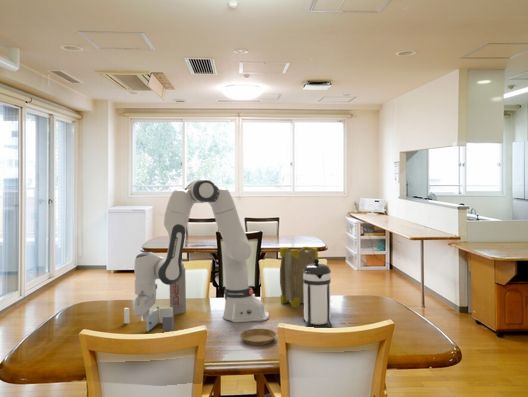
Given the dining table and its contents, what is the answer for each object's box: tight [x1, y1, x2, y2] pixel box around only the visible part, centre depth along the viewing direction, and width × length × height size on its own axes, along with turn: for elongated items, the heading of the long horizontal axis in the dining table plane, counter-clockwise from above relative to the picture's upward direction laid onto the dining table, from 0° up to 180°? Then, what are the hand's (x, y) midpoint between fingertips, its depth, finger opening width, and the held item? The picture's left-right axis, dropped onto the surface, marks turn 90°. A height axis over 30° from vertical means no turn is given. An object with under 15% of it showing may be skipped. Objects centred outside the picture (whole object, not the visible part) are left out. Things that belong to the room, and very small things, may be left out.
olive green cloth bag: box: [279, 246, 319, 308], centre depth 230 cm, size 20×11×30 cm, turn 125°
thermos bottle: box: [169, 257, 187, 315], centre depth 216 cm, size 8×8×28 cm
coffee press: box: [302, 258, 333, 328], centre depth 195 cm, size 17×16×30 cm
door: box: [145, 308, 160, 332], centre depth 193 cm, size 12×2×6 cm, turn 173°
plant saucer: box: [239, 328, 277, 346], centre depth 175 cm, size 15×15×3 cm
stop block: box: [162, 314, 175, 333], centre depth 187 cm, size 4×4×7 cm
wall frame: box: [123, 306, 173, 324], centre depth 199 cm, size 22×1×8 cm, turn 89°
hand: (145, 319), depth 189 cm, fingers closed
